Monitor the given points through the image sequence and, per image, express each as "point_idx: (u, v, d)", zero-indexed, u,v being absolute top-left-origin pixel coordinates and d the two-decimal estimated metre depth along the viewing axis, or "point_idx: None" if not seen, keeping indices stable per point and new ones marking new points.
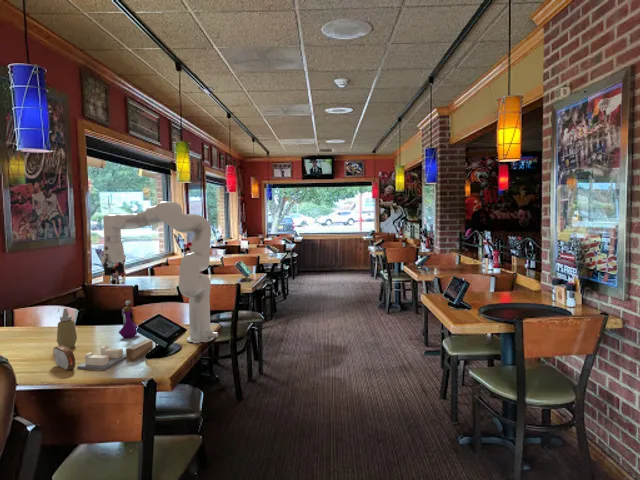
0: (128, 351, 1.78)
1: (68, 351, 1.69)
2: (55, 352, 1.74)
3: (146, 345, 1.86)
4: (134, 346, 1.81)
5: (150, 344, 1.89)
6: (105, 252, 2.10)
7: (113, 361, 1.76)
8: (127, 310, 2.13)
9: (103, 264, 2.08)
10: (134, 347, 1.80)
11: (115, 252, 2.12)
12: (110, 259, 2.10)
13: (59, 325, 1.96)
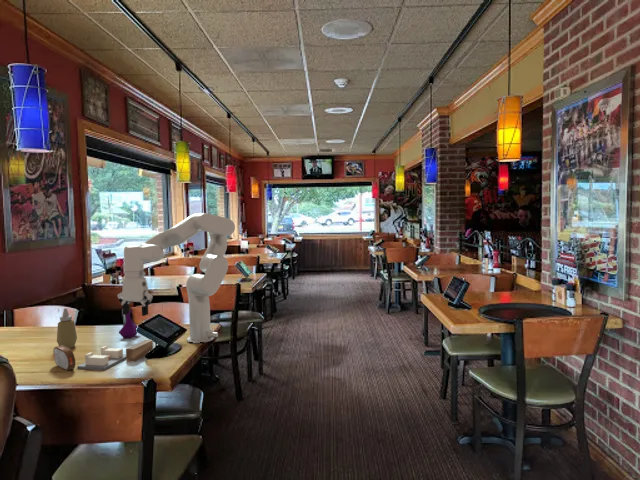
0: (128, 351, 1.78)
1: (68, 351, 1.69)
2: (55, 352, 1.74)
3: (146, 345, 1.86)
4: (134, 346, 1.82)
5: (150, 344, 1.89)
6: (143, 289, 1.84)
7: (113, 361, 1.76)
8: None
9: (149, 302, 1.84)
10: (134, 347, 1.80)
11: None
12: None
13: (59, 325, 1.96)
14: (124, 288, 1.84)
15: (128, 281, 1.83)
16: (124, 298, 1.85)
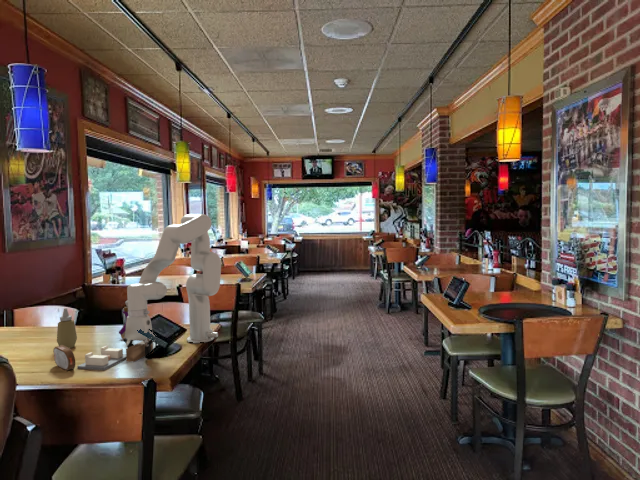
0: (128, 351, 1.78)
1: (68, 351, 1.69)
2: (55, 352, 1.74)
3: None
4: (134, 346, 1.82)
5: None
6: (148, 328, 1.82)
7: (113, 361, 1.76)
8: (127, 310, 2.12)
9: (152, 342, 1.83)
10: (134, 347, 1.80)
11: None
12: None
13: (59, 325, 1.96)
14: (127, 327, 1.82)
15: (132, 320, 1.81)
16: (127, 337, 1.83)
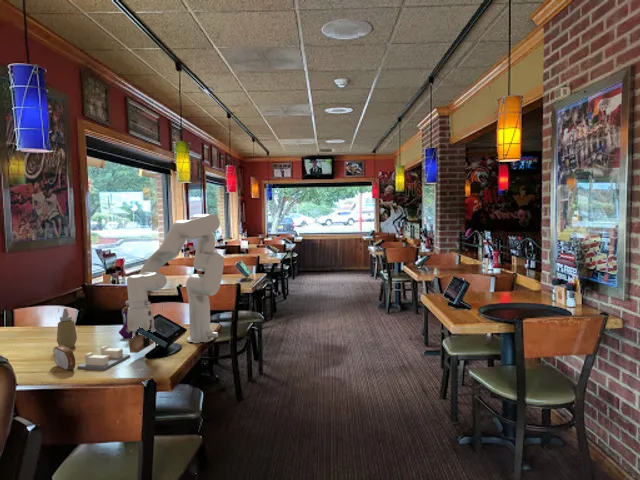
0: (131, 342, 1.79)
1: (68, 351, 1.69)
2: (55, 352, 1.74)
3: None
4: (137, 336, 1.82)
5: None
6: (149, 318, 1.83)
7: (113, 361, 1.76)
8: (127, 310, 2.13)
9: None
10: (137, 338, 1.81)
11: None
12: (153, 324, 1.85)
13: (59, 325, 1.96)
14: (129, 318, 1.83)
15: (133, 311, 1.82)
16: (129, 328, 1.83)
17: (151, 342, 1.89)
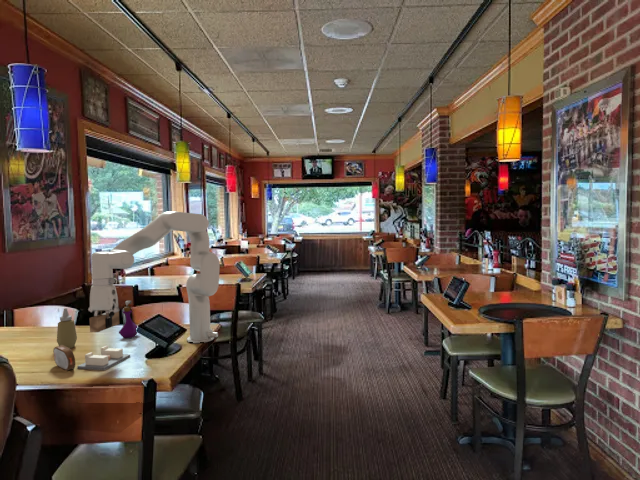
0: (92, 321, 1.71)
1: (68, 351, 1.69)
2: (55, 352, 1.74)
3: None
4: (98, 316, 1.74)
5: (116, 315, 1.82)
6: (113, 297, 1.75)
7: (113, 361, 1.76)
8: (127, 310, 2.13)
9: (113, 314, 1.76)
10: (98, 317, 1.73)
11: None
12: (117, 304, 1.78)
13: (59, 325, 1.96)
14: (92, 297, 1.75)
15: (97, 289, 1.74)
16: (92, 307, 1.75)
17: (114, 323, 1.81)
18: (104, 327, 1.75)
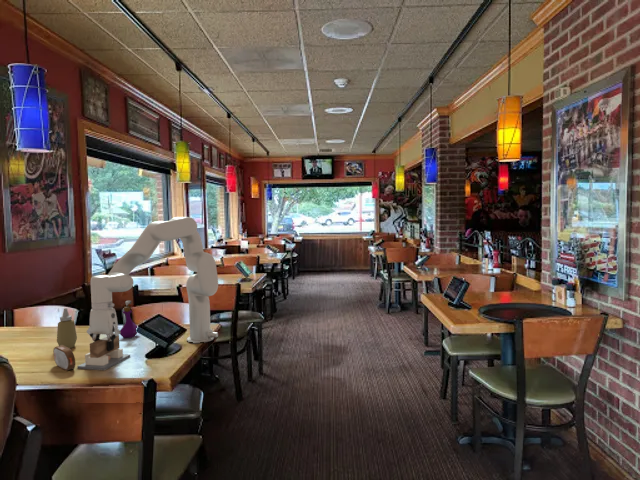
0: (92, 347, 1.72)
1: (68, 351, 1.69)
2: (55, 352, 1.74)
3: None
4: (99, 341, 1.75)
5: (117, 340, 1.83)
6: (113, 321, 1.75)
7: (113, 361, 1.76)
8: (127, 310, 2.13)
9: (115, 337, 1.76)
10: (98, 342, 1.74)
11: None
12: (117, 327, 1.78)
13: (59, 325, 1.96)
14: (91, 320, 1.75)
15: (96, 313, 1.74)
16: (91, 331, 1.76)
17: (114, 348, 1.81)
18: (104, 352, 1.75)
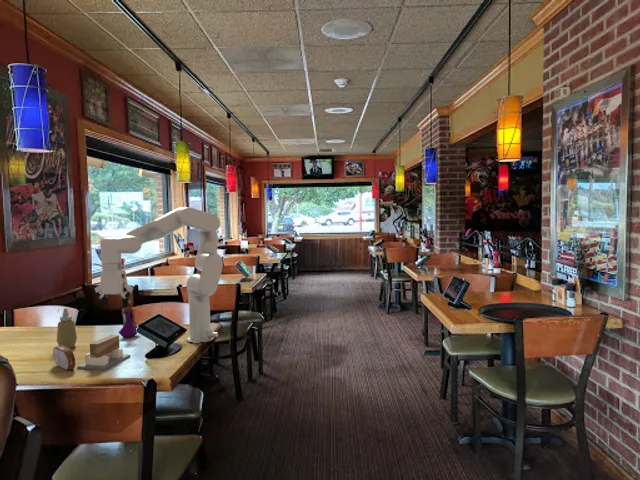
0: (92, 347, 1.72)
1: (68, 351, 1.69)
2: (55, 352, 1.74)
3: (112, 340, 1.80)
4: (99, 341, 1.75)
5: (117, 340, 1.83)
6: (123, 281, 1.81)
7: (113, 361, 1.76)
8: (127, 310, 2.13)
9: (130, 294, 1.81)
10: (98, 342, 1.74)
11: None
12: None
13: (59, 325, 1.96)
14: (102, 281, 1.81)
15: (107, 274, 1.80)
16: (103, 291, 1.81)
17: (114, 348, 1.81)
18: (104, 352, 1.75)
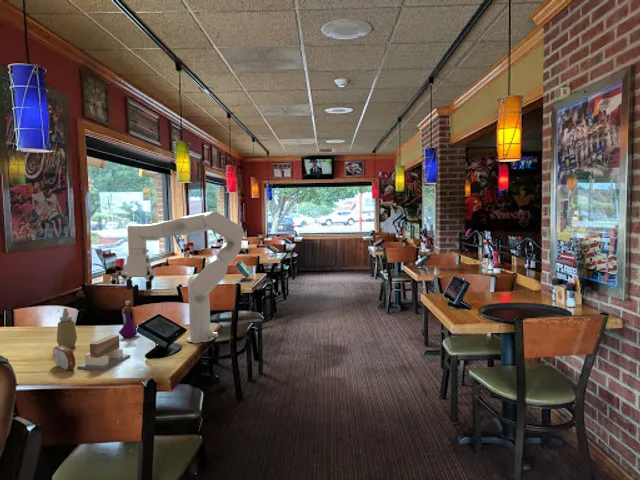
0: (92, 347, 1.72)
1: (68, 351, 1.69)
2: (55, 352, 1.74)
3: (112, 340, 1.80)
4: (99, 341, 1.75)
5: (117, 340, 1.83)
6: (147, 265, 1.95)
7: (113, 361, 1.76)
8: (127, 310, 2.13)
9: (153, 277, 1.96)
10: (98, 342, 1.74)
11: None
12: (150, 271, 1.98)
13: (59, 325, 1.96)
14: (128, 265, 1.95)
15: (132, 258, 1.94)
16: (128, 274, 1.96)
17: (114, 348, 1.81)
18: (104, 352, 1.75)
